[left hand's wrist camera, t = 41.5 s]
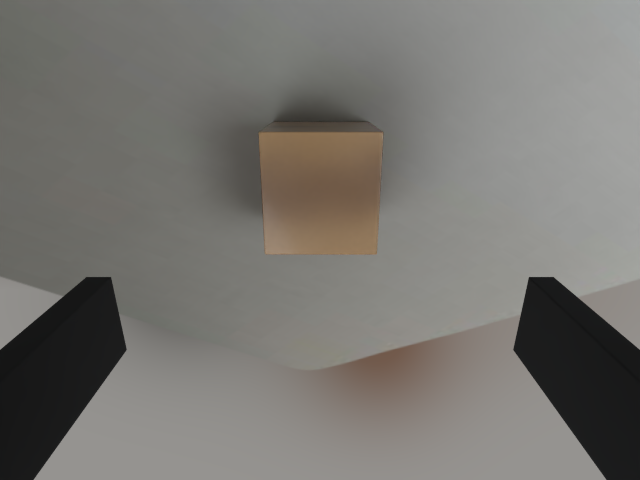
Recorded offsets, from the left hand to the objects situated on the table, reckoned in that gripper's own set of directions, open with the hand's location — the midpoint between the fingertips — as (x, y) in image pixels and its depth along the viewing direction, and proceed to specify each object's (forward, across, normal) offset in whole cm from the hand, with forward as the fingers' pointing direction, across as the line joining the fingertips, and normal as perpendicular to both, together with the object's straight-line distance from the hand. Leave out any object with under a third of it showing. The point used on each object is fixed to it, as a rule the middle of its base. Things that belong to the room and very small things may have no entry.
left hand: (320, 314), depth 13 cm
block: (+26, 0, +1) cm, 26 cm away
